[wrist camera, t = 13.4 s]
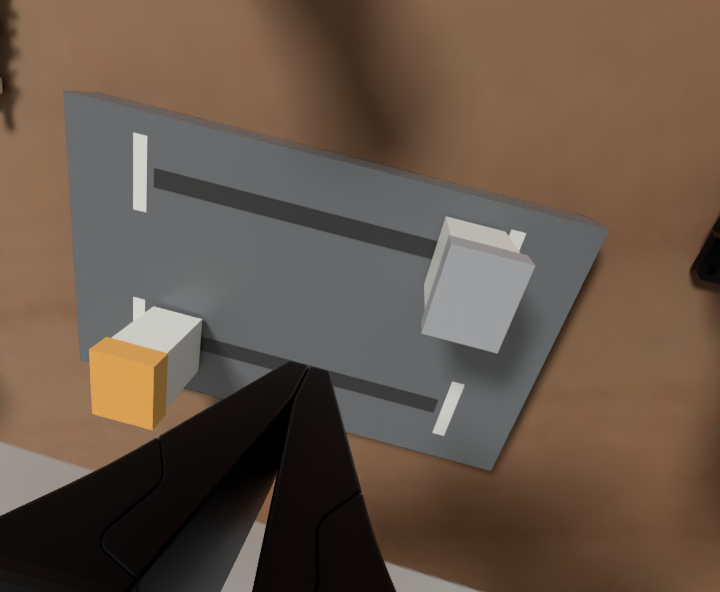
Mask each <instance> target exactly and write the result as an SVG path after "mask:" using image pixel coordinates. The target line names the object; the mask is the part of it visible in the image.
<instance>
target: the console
mask: <svg viewBox="0 0 720 592" xmlns="http://www.w3.org/2000/svg"><path fill="white" fill-rule="evenodd" d="M63 92H64V108H65V124H66V140H67V156H68V172H69V188H70V204H71V220H72V236H73V252H74V268H75V284H76V300H77V316H78V332H79V348H80V360H82V361H85V362H89V363H90V360H89V349H90V348H92V347H93V346H94V345H96V344H97V343H98V342H100V341H101V340H103V339H104V338H105V337H109V338H111V337H113V336H114V335H115V334H117V333H118V332H120V331H121V330H122V329H124V328H125V327H126V326H128V325H129V324H130V323H132V322H133V321H134V320H136V319H137V318H138V317H140V316H141V315H142V314H144V313H145V312H146V311H148V310H149V309H150V308H152V307H153V306H155V307H158V308H162V309H166V310H170V311H174V312H177V313H181V314H185V315H189V316H192V317H196V318H200V319H202V330H201V343H200V355H199V368H198V372H197V373H196V374H195V375H194V376H193V378H192V379H191V380H190V381H189V382H188V384H187V385H186V386H185V387H184V388H185V389H189V390H193V391H196V392H200V393H204V394H207V395H211V396H215V397H219V398H222V399H224V398H226V397H227V396H229V395H231V394H233V393H234V392H236V391H238V390H240V389H241V388H243V387H245V386H246V385H248V384H250V383H252V382H253V381H255V380H257V379H259V378H260V377H262V376H264V375H265V374H267V373H269V372H271V371H272V370H274V369H276V368H278V367H279V366H281V365H283V364H284V363H286V362H288V361H294V362H298V363H302V364H306V365H307V366H308V368H310V367H317V368H321V369H324V370H328V371H329V373H330V376H331V379H332V383H333V387H334V390H335V394H336V398H337V402H338V405H339V409H340V413H341V416H342V420H343V424H344V428H345V431H346V432H348V433H352V434H355V435H359V436H363V437H367V438H370V439H374V440H378V441H381V442H385V443H389V444H392V445H396V446H400V447H404V448H407V449H411V450H415V451H418V452H422V453H426V454H429V455H433V456H437V457H441V458H444V459H448V460H452V461H455V462H459V463H463V464H466V465H470V466H474V467H478V468H481V469H485V470H489V471H491V470H492V468H493V466H494V464H495V462H496V460H497V458H498V456H499V454H500V451H501V449H502V447H503V445H504V443H505V441H506V439H507V437H508V435H509V433H510V431H511V429H512V427H513V425H514V423H515V421H516V419H517V417H518V415H519V413H520V411H521V409H522V407H523V405H524V403H525V401H526V399H527V396H528V394H529V392H530V390H531V388H532V386H533V384H534V382H535V380H536V378H537V376H538V374H539V372H540V370H541V368H542V366H543V364H544V362H545V360H546V358H547V356H548V354H549V352H550V350H551V348H552V346H553V344H554V341H555V339H556V337H557V335H558V333H559V331H560V329H561V327H562V325H563V323H564V321H565V319H566V317H567V315H568V313H569V311H570V309H571V307H572V305H573V303H574V301H575V299H576V297H577V295H578V293H579V291H580V289H581V286H582V284H583V282H584V280H585V278H586V276H587V274H588V272H589V270H590V268H591V266H592V264H593V262H594V260H595V258H596V256H597V254H598V252H599V250H600V248H601V246H602V244H603V242H604V240H605V238H606V236H607V234H608V231H609V230H608V229H607V228H605V227H604V226H602V225H601V224H599V223H598V222H596V221H594V220H593V219H591V218H589V217H585V216H581V215H577V214H573V213H569V212H565V211H561V210H557V209H553V208H550V207H546V206H542V205H538V204H534V203H530V202H526V201H522V200H518V199H514V198H510V197H506V196H502V195H499V194H495V193H491V192H487V191H483V190H479V189H475V188H471V187H467V186H463V185H459V184H455V183H451V182H448V181H444V180H440V179H436V178H432V177H428V176H424V175H420V174H416V173H412V172H408V171H404V170H400V169H397V168H393V167H389V166H385V165H381V164H377V163H373V162H369V161H365V160H361V159H357V158H353V157H349V156H345V155H342V154H338V153H334V152H330V151H326V150H322V149H318V148H314V147H310V146H306V145H302V144H298V143H294V142H291V141H287V140H283V139H279V138H275V137H271V136H267V135H263V134H259V133H255V132H251V131H247V130H243V129H240V128H236V127H232V126H228V125H224V124H220V123H216V122H212V121H208V120H204V119H200V118H196V117H192V116H189V115H185V114H181V113H177V112H173V111H169V110H165V109H161V108H157V107H153V106H149V105H145V104H141V103H138V102H134V101H130V100H126V99H122V98H118V97H114V96H110V95H106V94H102V93H98V92H80V91H63ZM446 216H447V217H451V218H455V219H459V220H462V221H466V222H470V223H474V224H478V225H482V226H486V227H490V228H494V229H498V230H501V231H505V232H506V233H507V235H508V236H509V237H510V239H511V240H512V242H513V243H514V245H515V246H516V247H517V249H518V250H519V252H520V253H521V254H524V255H528V256H529V258H530V259H531V260H532V262H533V263H534V265H535V268H534V270H533V272H532V275H531V277H530V279H529V282H528V284H527V286H526V289H525V291H524V293H523V296H522V298H521V300H520V303H519V305H518V307H517V310H516V312H515V314H514V316H513V319H512V321H511V323H510V326H509V328H508V330H507V333H506V335H505V337H504V340H503V342H502V344H501V347H500V349H499V351H498V354H497V353H493V352H490V351H486V350H482V349H478V348H474V347H471V346H467V345H463V344H459V343H455V342H452V341H448V340H444V339H440V338H437V337H433V336H429V335H425V334H421V320H422V317H423V314H424V310H425V303H424V283H425V280H426V277H427V274H428V270H429V267H430V264H431V261H432V258H433V255H434V252H435V248H436V245H437V242H438V239H439V236H440V233H441V230H442V226H443V223H444V220H445V217H446Z"/></svg>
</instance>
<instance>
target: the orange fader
mask: <svg viewBox="0 0 720 592" xmlns="http://www.w3.org/2000/svg"><path fill="white" fill-rule="evenodd" d="M201 330H202V319H200V318H196V317H192V316H189V315H185V314H181V313H177V312H174V311H170V310H166V309H162V308H158V307H155V306H153V307H152V308H150V309H149V310H148V311H146V312H145V313H144V314H142V315H141V316H140V317H138V318H137V319H136V320H134V321H133V322H132V323H130V324H129V325H128V326H126V327H125V328H124V329H122V330H121V331H120V332H118V333H117V334H115V335H114V336H113V337H111V338H109V337H105V338H104V339H103V340H101V341H100V342H98V343H97V344H96V345H94V346H93V347H92V348H90V349H89V360H90V380H91V399H92V414H95V415H99V416H102V417H106V418H110V419H113V420H117V421H121V422H124V423H128V424H132V425H135V426H139V427H143V428H146V429H150V430H153V429H154V428H155V427H156V425H157V424H158V423H159V422H160V421H161V419H162V418H163V417H164V416H165V415H166V408H167V407H168V406H169V405H170V404H171V402H172V401H173V400H174V399H175V398H176V397H177V395H178V394H179V393H180V392H181V391H182V389H183V388H184V387H185V386H186V385H187V384H188V382H189V381H190V380H191V379H192V378H193V376H194V375H195V374H196V373H197V372H198V368H199V355H200V343H201Z"/></svg>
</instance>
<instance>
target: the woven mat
mask: <svg viewBox="0 0 720 592" xmlns="http://www.w3.org/2000/svg"><path fill="white" fill-rule="evenodd" d="M0 30H1V28H0ZM0 93H1V94H2V78H0Z"/></svg>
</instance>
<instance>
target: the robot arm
mask: <svg viewBox="0 0 720 592" xmlns="http://www.w3.org/2000/svg"><path fill="white" fill-rule="evenodd" d="M710 264H712V266H711V269H710V270H709V271H706V272H704V268H705V267H706V266H707V265H710ZM692 272H693V274H694V275H695V276H697V277H698V278H700V279H702V280H704V281H708V282H712V283H716V284H719V285H720V217H719V219H718V220H717V222H716V224H715V225H714V227H713V232H712V233H711V235H710V237H709V238H708V240H707V242H706V243H705V245H704V247H703V248H702V250H701V252H700V253H699V255H698V257H697V258H696V260H695V262H694V263H693V266H692ZM276 475H277V477H276ZM275 478H276V481H275V486H274V491H273V495H272V500H271V505H270V510H269V514H268V519H267V524H266V529H265V533H264V539H263V543H262V547H261V553H260V557H259V562H258V567H257V571H256V576H255V581H254V586H253V590H252V592H396V590H395V587H394V585H393V583H392V580H391V578H390V575H389V573H388V570H387V568H386V565H385V562H384V560H383V557H382V555H381V552H380V549H379V547H378V544H377V542H376V538H375V535H374V532H373V529H372V525H371V522H370V519H369V516H368V512H367V509H366V505H365V501H364V497H363V495H362V494H361V492H362V491H361V487H360V483H359V480H358V476H357V472H356V468H355V465H354V461H353V457H352V454H351V450H350V446H349V442H348V439H347V435H346V431H345V428H344V424H343V420H342V416H341V413H340V409H339V405H338V402H337V398H336V394H335V390H334V387H333V383H332V379H331V376H330V373H329V371H328V370H324V369H321V368H317V367H310V368H308V366H307V365H306V364H302V363H298V362H294V361H288V362H286V363H284V364H283V365H281V366H279V367H278V368H276V369H274V370H272V371H271V372H269V373H267V374H265V375H264V376H262V377H260V378H259V379H257V380H255V381H253V382H252V383H250V384H248V385H246V386H245V387H243V388H241V389H240V390H238V391H236V392H234V393H233V394H231V395H229V396H227V397H226V398H224V399H222V400H221V401H219V402H217V403H215V404H214V405H212V406H210V407H208V408H207V409H205V410H203V411H202V412H200V413H198V414H196V415H195V416H193V417H191V418H189V419H188V420H186V421H184V422H183V423H181V424H179V425H177V426H176V427H174V428H172V429H170V430H169V431H167V432H165V433H164V434H162V435H160V436H159V439H158V438H155V439H153V440H151V441H149V442H148V443H146V444H144V445H142V446H141V447H139V448H137V449H135V450H134V451H132V452H130V453H128V454H126V455H125V456H123V457H121V458H119V459H117V460H115V461H114V462H112V463H110V464H108V465H106V466H104V467H102V468H100V469H98V470H96V471H94V472H92V473H90V474H88V475H86V476H84V477H82V478H80V479H78V480H76V481H74V482H72V483H70V484H68V485H66V486H63V487H61V488H59V489H57V490H55V491H53V492H50V493H48V494H46V495H44V496H42V497H40V498H38V499H36V500H33V501H32V502H29V503H27V504H25V505H23V506H21V507H18V508H16V509H14V510H12V511H10V512H8V513H6V514H4V515H1V516H0V592H221V590H222V588H223V586H224V584H225V581H226V579H227V577H228V575H229V573H230V571H231V569H232V567H233V565H234V563H235V561H236V559H237V557H238V554H239V553H240V550H241V548H242V546H243V544H244V542H245V540H246V538H247V536H248V534H249V532H250V530H251V528H252V525H253V524H254V522H255V520H256V517H257V515H258V513H259V511H260V509H261V507H262V505H263V503H264V501H265V499H266V497H267V495H268V493H269V491H270V489H271V486H272V484H273V482H274V480H275Z"/></svg>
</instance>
